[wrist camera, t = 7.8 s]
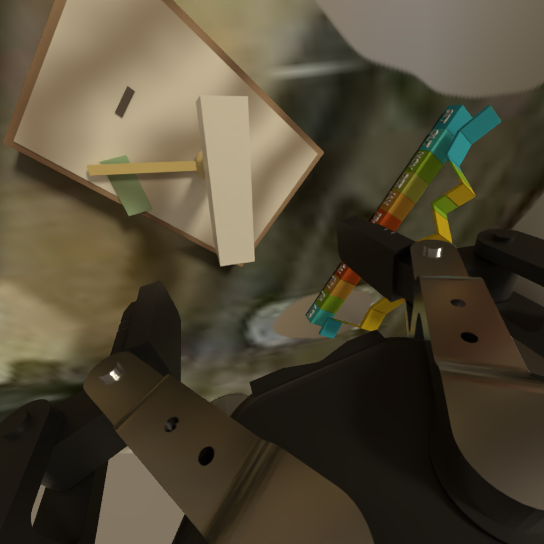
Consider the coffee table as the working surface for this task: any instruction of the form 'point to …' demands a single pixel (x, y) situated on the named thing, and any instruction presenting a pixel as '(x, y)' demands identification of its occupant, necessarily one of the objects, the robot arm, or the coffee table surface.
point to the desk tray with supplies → (148, 112)
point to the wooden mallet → (216, 173)
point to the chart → (418, 175)
